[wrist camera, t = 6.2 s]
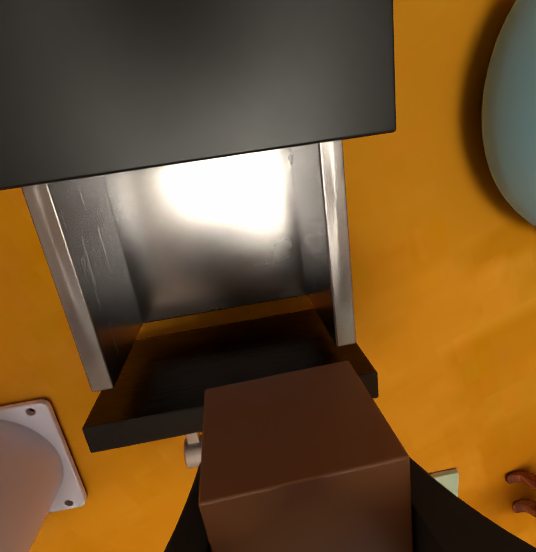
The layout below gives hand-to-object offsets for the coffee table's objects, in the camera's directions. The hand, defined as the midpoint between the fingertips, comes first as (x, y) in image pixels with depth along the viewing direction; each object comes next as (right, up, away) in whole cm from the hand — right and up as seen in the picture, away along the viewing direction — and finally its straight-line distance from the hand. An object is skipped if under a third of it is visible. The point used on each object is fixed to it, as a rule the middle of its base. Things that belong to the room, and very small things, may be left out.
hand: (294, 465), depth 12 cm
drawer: (-3, +7, +7) cm, 11 cm away
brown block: (0, 0, 0) cm, 1 cm away
